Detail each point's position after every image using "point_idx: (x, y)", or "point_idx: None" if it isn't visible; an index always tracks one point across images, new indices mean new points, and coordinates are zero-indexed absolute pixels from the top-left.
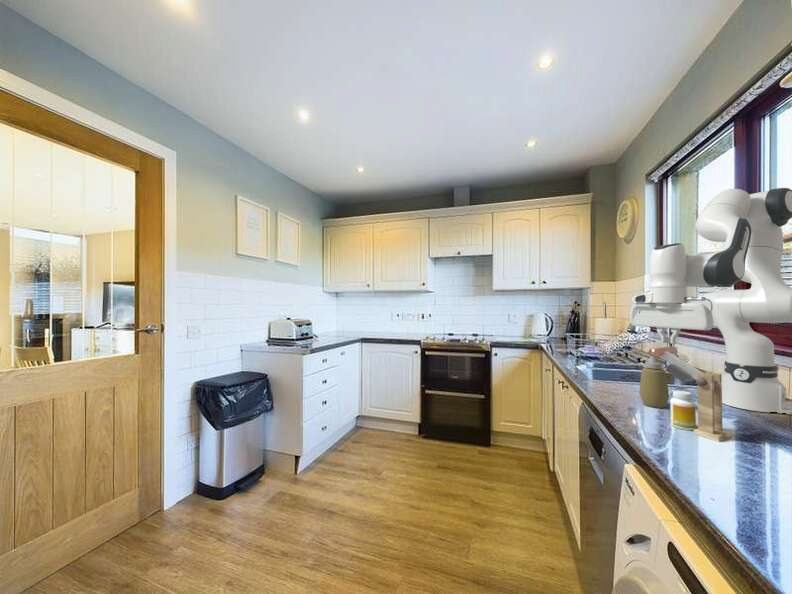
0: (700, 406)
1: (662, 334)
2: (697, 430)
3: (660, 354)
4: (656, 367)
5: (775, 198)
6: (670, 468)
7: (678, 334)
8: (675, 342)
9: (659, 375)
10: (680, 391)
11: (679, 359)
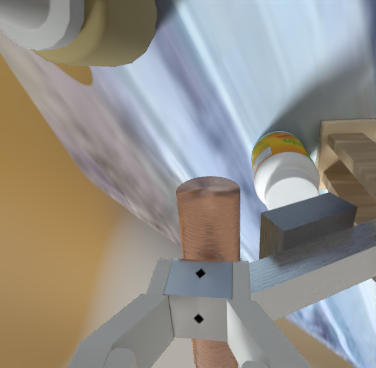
0: None
1: (152, 356)
2: (322, 186)
3: None
4: (75, 31)
5: None
6: (346, 345)
7: (284, 341)
8: (248, 268)
9: (111, 36)
10: (284, 195)
11: (307, 282)
